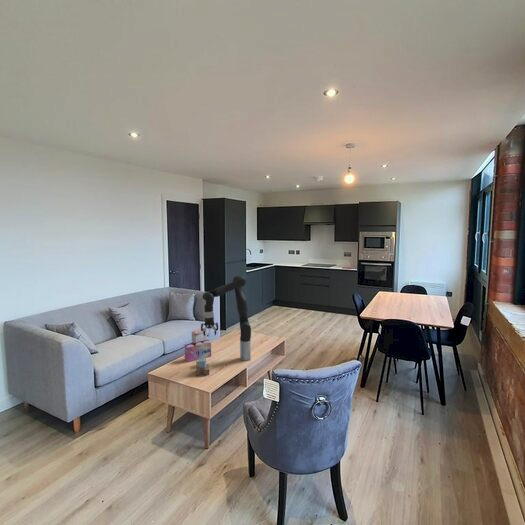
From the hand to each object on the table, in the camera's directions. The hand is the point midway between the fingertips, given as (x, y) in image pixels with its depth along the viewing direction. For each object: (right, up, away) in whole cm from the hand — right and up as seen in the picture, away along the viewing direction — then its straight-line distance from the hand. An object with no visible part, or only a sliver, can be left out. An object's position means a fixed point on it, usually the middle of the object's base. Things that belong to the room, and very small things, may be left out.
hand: (210, 335), depth 266 cm
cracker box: (-16, -24, +36) cm, 46 cm away
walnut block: (-5, -29, -8) cm, 30 cm away
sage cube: (-10, -27, +4) cm, 29 cm away
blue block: (-5, -24, -8) cm, 26 cm away
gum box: (-14, -26, +22) cm, 36 cm away
